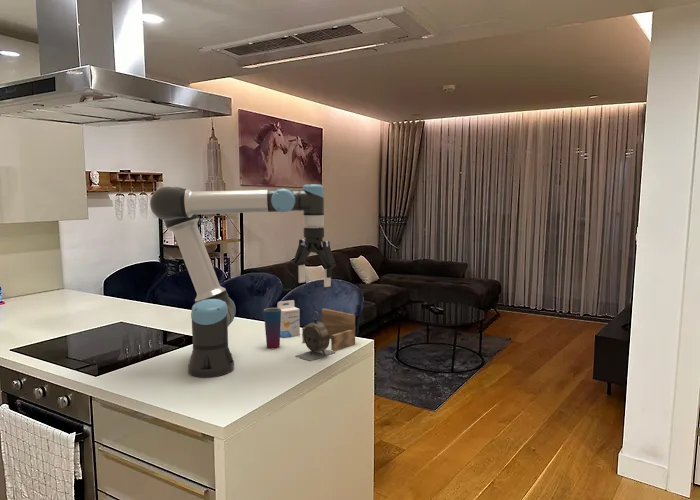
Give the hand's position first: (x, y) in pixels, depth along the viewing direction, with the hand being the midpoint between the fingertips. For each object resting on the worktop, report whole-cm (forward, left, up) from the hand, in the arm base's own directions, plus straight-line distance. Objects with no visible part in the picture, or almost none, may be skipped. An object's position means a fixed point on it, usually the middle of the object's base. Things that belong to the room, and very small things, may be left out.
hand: (314, 284), depth 181 cm
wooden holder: (+14, +7, -27) cm, 31 cm away
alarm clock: (0, 0, -26) cm, 27 cm away
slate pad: (0, 0, -27) cm, 27 cm away
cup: (-4, +20, -27) cm, 34 cm away
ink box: (+11, +28, -27) cm, 40 cm away
